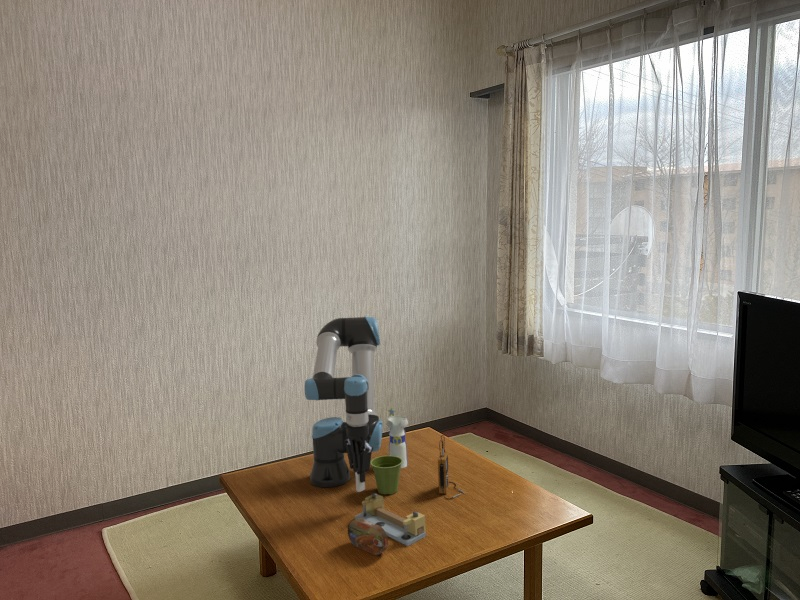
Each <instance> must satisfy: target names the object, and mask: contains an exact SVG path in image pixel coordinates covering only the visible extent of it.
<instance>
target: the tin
mask: <svg viewBox="0 0 800 600" xmlns="http://www.w3.org/2000/svg"><path fill="white" fill-rule="evenodd" d="M347 535H348V539H349V541H350V542H351V544H352V545H353V547H355V548H357V549H360V550H362V551H365V553H369V554H371V555H374V556H380V555H381V554H383V553H384V552H385V551H386V550H387V549H388V546H389V540H388V536H387V534H386V532H385V531H384V529H383V528H382V527H381V526H379V525H376V524H374V523H371V522H369V521H366V520H364V519H360V518H359V519H356V520H355V519H353V520H351V521H349V523H348V525H347Z"/></svg>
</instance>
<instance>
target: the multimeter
mask: <svg viewBox="0 0 800 600" xmlns="http://www.w3.org/2000/svg"><path fill="white" fill-rule="evenodd" d="M442 437H443V438H442ZM440 438H441V439H440V440H439V449H441V451H439V455H438V458H437V466H438V467H437V471H438V472H437V475H438V476H437V477H438V479H437V480H438V494H441V495H442V496H443V498H444V499H446V500H451V499H454V498H456V497H459V495H462V494H463V493H464V494H466V495H467V493H466V492H465V491H464V490H461V489H459V488H456V486H457V483H455V482H452V481H449V480H450V478H449V452H446V451H445V448H444V442H445V440H446V439H445V435H444V434H442V435H441V436H440ZM451 483H452V484H454V486H453V488H454V489H455V490H457V491H459V492H461V493H459V494H458V493H457V494H456V495H454V496H452V497H451V498H447V497H445V495H447V494H448V489H449V487H450V484H451Z"/></svg>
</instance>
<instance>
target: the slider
mask: <svg viewBox="0 0 800 600" xmlns="http://www.w3.org/2000/svg"><path fill="white" fill-rule="evenodd" d="M361 505H362V513H363V516H364V517H365V516H366V512H368V513H370V514H372V515H376V510H375V509H377V508H379V507H381V508H383V509H385V507H384V505H385V504H384V496H383V495H380V494H378V493H377V492H372V493H371V494H370V495H369V496H366V497H365V499H364V500H363V501H361Z"/></svg>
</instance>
